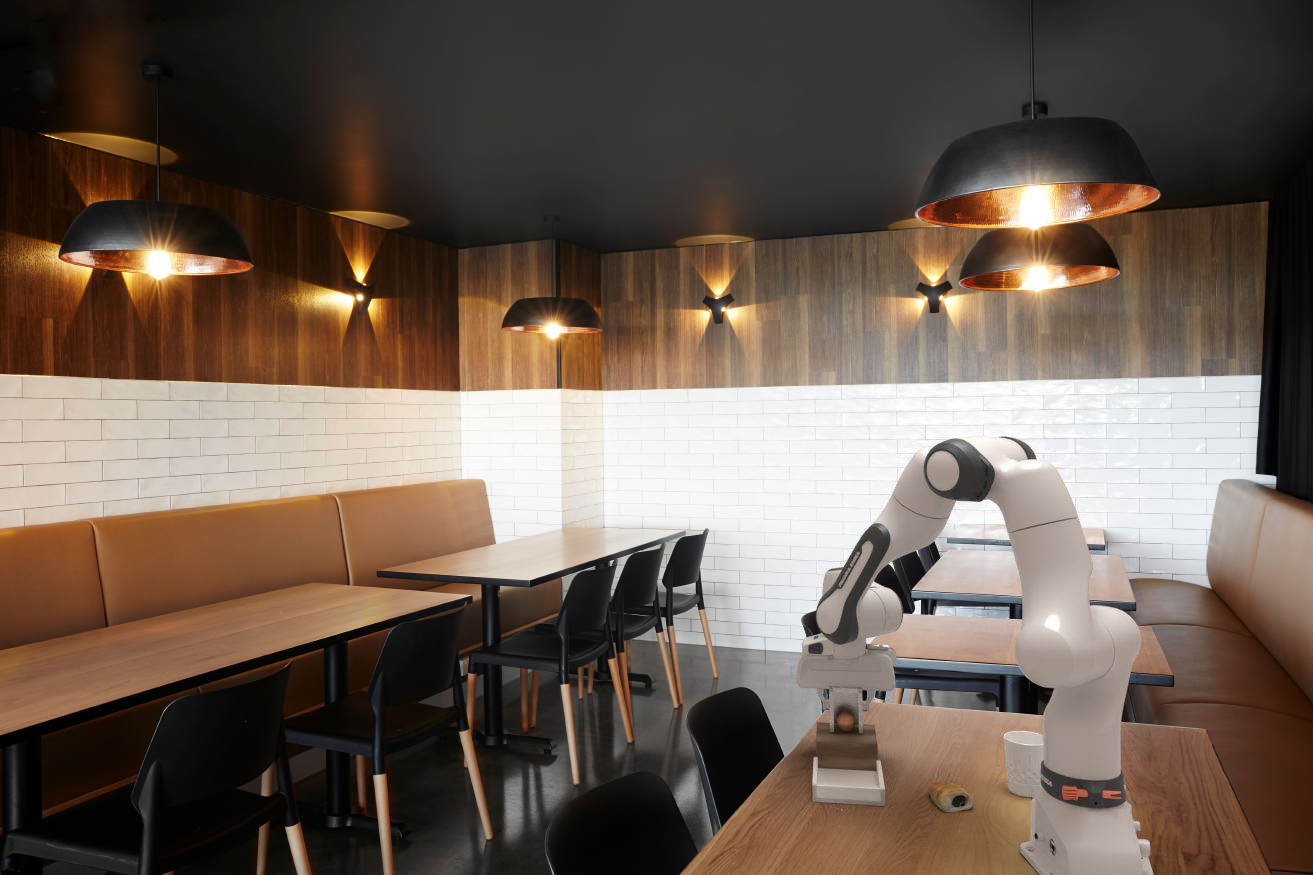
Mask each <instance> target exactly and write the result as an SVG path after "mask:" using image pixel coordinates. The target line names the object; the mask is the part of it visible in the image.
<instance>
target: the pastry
mask: <svg viewBox="0 0 1313 875" xmlns="http://www.w3.org/2000/svg"><path fill="white" fill-rule="evenodd" d="M927 790H928V794H929V796H930V798H931V801H932V802H933V803H934V804H935V806H936V807H937V808H939V809H940V810H941V811H943V812H945V813H958V812H961V811H968V810H970V809H972V807H973V806H974V805H975V800H974V798H973V795H972V794H971V793H969V791H968V790H967V789H965V788H963V786H962V785H960V784H956V783H952V782H948V781H947V782H945V781H944V782H943V781H936V780H935V781H933V782H930V784H929V786H928V787H927Z"/></svg>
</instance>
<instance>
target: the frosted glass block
mask: <svg viewBox="0 0 1313 875" xmlns="http://www.w3.org/2000/svg"><path fill="white" fill-rule="evenodd" d="M828 690H829V692H828V695H829V696H828V697H829V698H828V700H829V703H830V710H829V723H830V732H834V724H836V718H837V716H838V714H839V713H841V712H849V713H851V714H852V715H853V716H854V717H855V720H856V724H855V725H858V728H859V733H863V724H864V717H863V713H864V711H863V707H862V701H863V690H862V687H834V686H829V689H828Z"/></svg>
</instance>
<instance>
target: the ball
mask: <svg viewBox="0 0 1313 875" xmlns="http://www.w3.org/2000/svg"><path fill="white" fill-rule="evenodd" d="M836 724H837V727H838V728H839V729H840V730H842V731H844V732H849V731H851V730H853V728H854V727H855V724H856V720H855V717H854V716H853V715H852V714H851V713H849V712H841V713H839V714H838V716H837V718H836Z"/></svg>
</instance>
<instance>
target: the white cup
mask: <svg viewBox="0 0 1313 875" xmlns="http://www.w3.org/2000/svg"><path fill="white" fill-rule="evenodd" d="M1003 745H1004V747H1003V748H1004V761H1005V772H1006V775H1007V776H1006V779H1007V780H1006V782H1007V789H1008V791H1009V792H1010V793H1012V794H1013V795H1017V796H1019V797H1023V798H1029V797H1030V798H1031V797H1032V799H1033V798H1034V797H1035V796H1037V795H1038V793H1039V792H1040V791H1041V789H1042V785H1041V776H1040V769H1041V762H1042V761H1043V760H1044V749H1043V734H1042V733H1037V732H1034V731H1028V730H1027V731H1026V730H1013V731H1007V732H1006V733H1004V734H1003Z"/></svg>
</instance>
